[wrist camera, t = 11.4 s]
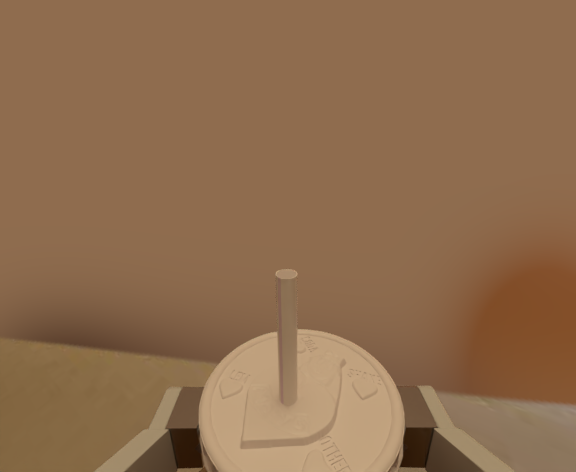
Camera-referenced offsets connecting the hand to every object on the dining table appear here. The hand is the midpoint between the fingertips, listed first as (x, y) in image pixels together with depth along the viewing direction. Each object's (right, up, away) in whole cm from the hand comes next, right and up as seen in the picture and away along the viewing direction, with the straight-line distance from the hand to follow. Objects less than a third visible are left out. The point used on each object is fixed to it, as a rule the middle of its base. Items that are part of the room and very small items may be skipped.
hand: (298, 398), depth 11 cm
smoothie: (0, -8, +2) cm, 9 cm away
